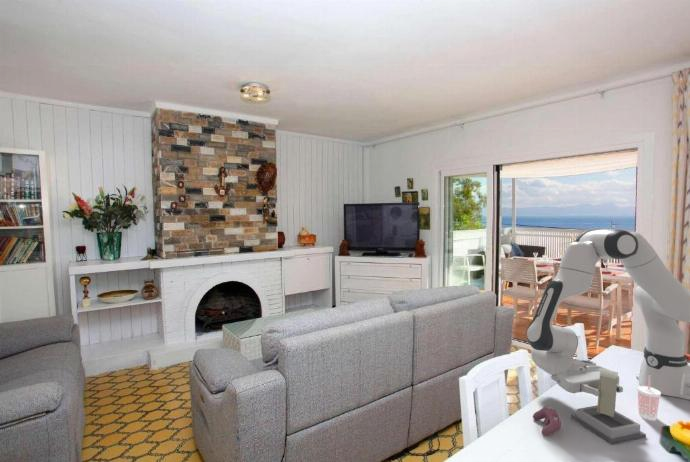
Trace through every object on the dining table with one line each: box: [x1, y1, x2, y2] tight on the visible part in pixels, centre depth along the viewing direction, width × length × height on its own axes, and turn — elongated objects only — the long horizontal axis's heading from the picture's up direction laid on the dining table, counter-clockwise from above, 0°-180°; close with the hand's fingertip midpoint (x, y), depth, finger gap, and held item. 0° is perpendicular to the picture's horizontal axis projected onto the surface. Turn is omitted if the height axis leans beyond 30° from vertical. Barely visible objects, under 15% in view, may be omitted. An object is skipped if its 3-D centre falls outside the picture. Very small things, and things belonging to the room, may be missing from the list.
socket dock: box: [570, 404, 647, 445], centre depth 115 cm, size 13×14×4 cm
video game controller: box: [532, 406, 563, 437], centre depth 115 cm, size 10×5×7 cm, turn 170°
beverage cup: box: [636, 375, 662, 421], centre depth 121 cm, size 6×6×14 cm
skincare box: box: [597, 369, 619, 417], centre depth 115 cm, size 6×4×12 cm
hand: (610, 392), depth 114 cm, fingers closed on skincare box, 7 cm apart
